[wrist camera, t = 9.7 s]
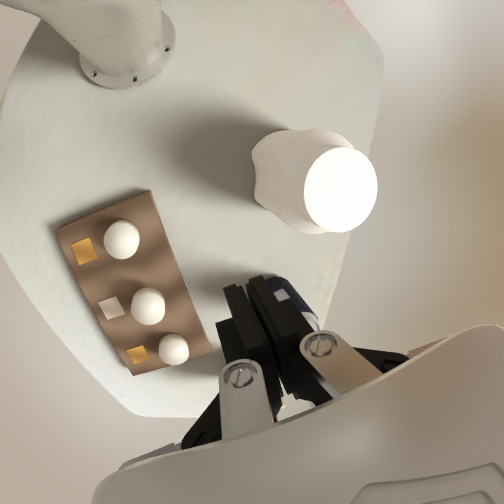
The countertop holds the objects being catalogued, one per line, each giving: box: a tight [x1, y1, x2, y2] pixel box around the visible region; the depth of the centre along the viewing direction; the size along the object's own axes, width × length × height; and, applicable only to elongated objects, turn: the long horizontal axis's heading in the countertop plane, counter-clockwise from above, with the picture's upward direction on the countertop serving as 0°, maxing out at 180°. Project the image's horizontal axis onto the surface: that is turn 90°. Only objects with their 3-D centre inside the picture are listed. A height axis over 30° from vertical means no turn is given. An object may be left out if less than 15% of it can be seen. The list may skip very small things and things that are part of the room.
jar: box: [251, 129, 377, 234], centre depth 33 cm, size 12×10×15 cm
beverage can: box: [265, 277, 320, 331], centre depth 41 cm, size 6×6×12 cm
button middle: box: [131, 288, 165, 325], centre depth 37 cm, size 4×4×2 cm
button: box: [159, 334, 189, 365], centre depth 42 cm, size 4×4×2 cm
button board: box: [55, 190, 212, 376], centre depth 40 cm, size 26×14×2 cm, turn 15°
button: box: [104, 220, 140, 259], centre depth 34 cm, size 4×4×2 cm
